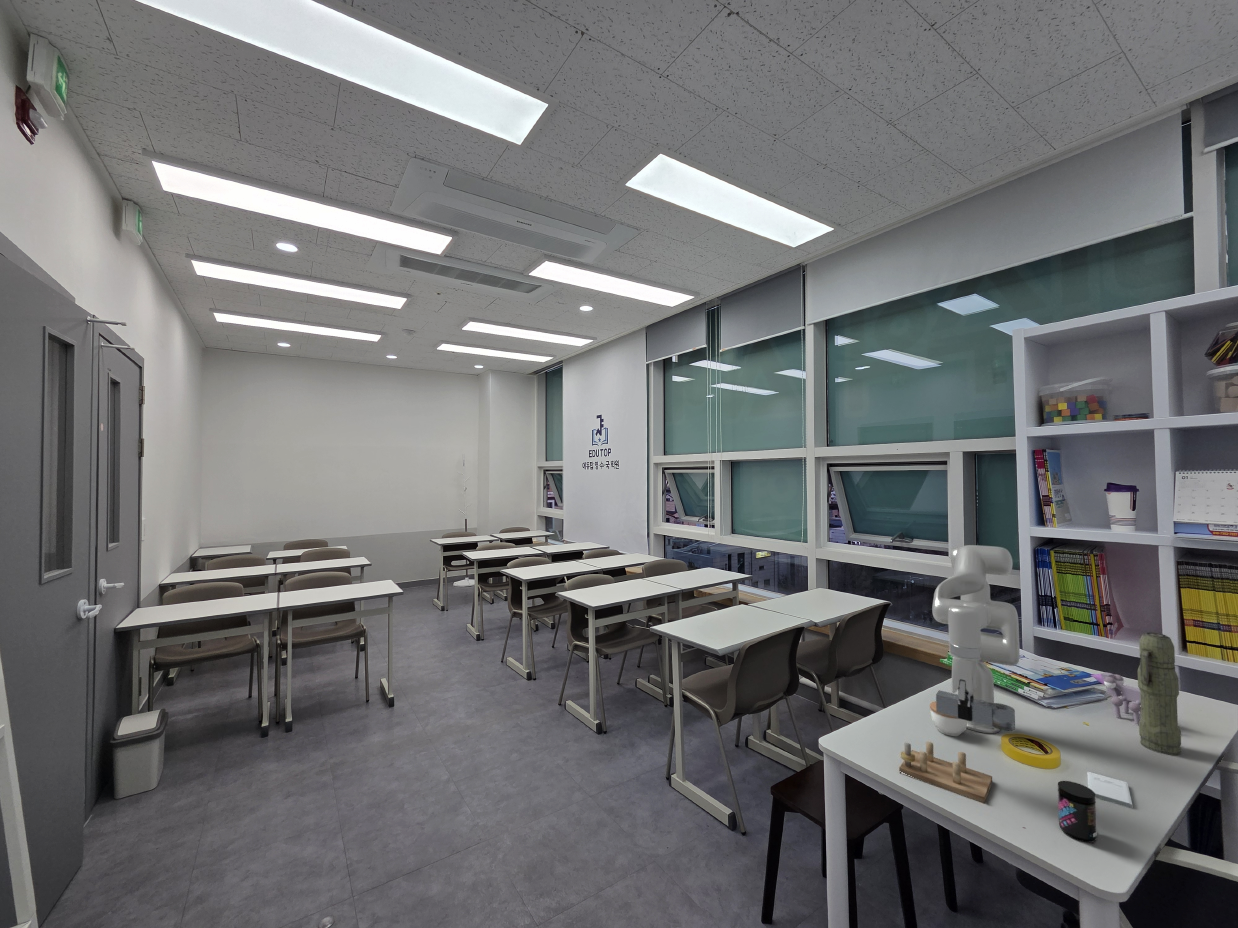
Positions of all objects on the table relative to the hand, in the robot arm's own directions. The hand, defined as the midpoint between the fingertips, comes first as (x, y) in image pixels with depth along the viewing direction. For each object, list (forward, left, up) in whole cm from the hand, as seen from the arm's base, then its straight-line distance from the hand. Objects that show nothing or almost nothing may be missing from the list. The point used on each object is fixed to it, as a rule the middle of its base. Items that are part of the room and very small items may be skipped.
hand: (966, 715), depth 143 cm
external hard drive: (-20, +28, -18) cm, 39 cm away
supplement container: (+8, +23, -18) cm, 30 cm away
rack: (+3, -5, -17) cm, 18 cm away
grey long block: (0, +2, 0) cm, 2 cm away
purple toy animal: (-82, +33, -18) cm, 91 cm away
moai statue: (-61, +40, -18) cm, 75 cm away
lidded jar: (-28, -10, -18) cm, 34 cm away
